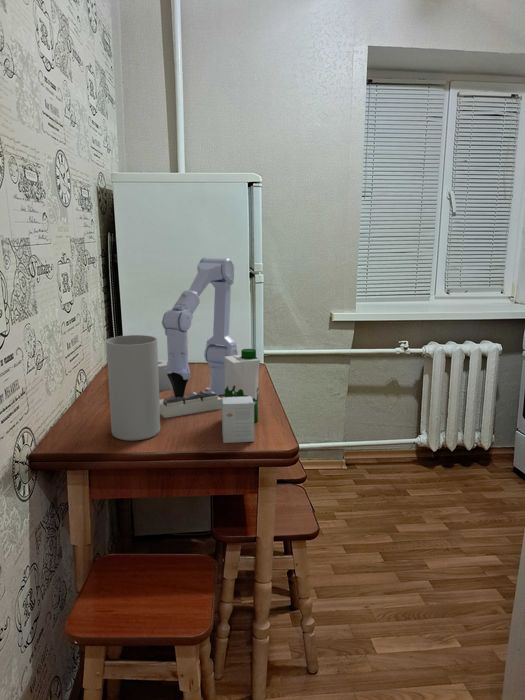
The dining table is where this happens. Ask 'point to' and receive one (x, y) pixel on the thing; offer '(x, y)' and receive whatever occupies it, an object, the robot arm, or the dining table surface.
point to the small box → (237, 419)
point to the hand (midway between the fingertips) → (179, 397)
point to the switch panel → (189, 406)
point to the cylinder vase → (133, 386)
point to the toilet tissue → (163, 376)
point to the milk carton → (242, 376)
